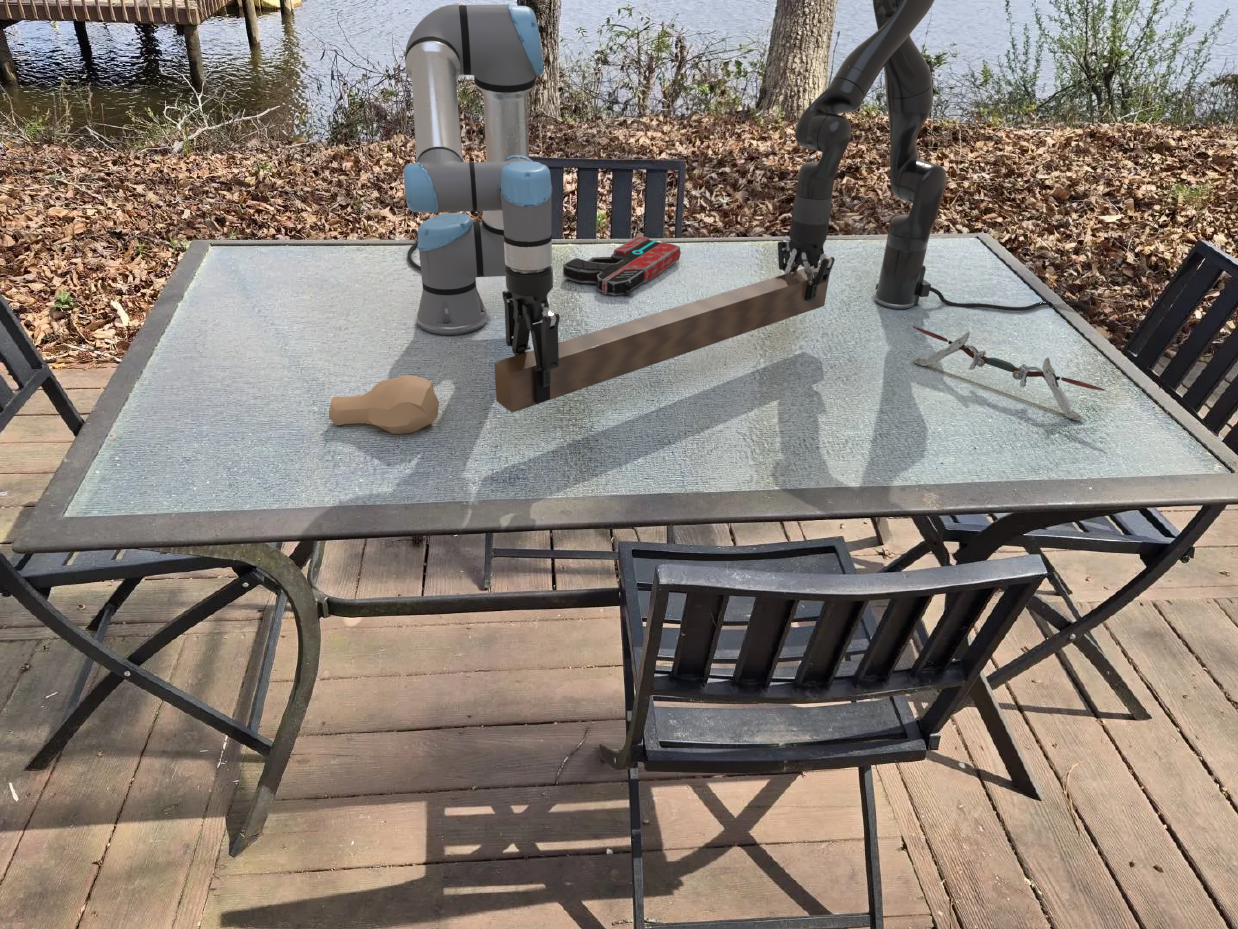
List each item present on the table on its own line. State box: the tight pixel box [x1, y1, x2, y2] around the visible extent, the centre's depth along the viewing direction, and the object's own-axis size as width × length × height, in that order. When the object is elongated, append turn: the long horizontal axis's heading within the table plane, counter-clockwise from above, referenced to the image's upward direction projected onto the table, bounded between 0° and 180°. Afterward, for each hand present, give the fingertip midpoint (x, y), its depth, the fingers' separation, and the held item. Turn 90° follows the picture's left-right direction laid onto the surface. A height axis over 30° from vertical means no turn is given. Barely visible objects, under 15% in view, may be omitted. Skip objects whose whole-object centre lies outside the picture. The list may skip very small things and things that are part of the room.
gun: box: [562, 235, 682, 297], centre depth 223 cm, size 4×31×19 cm
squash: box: [328, 374, 440, 435], centre depth 157 cm, size 11×20×9 cm, turn 90°
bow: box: [912, 325, 1106, 421], centre depth 173 cm, size 39×2×10 cm, turn 47°
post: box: [493, 266, 831, 414], centre depth 168 cm, size 80×5×8 cm, turn 128°
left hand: (533, 393), depth 152 cm, fingers closed on post, 5 cm apart
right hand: (799, 295), depth 186 cm, fingers closed on post, 5 cm apart
